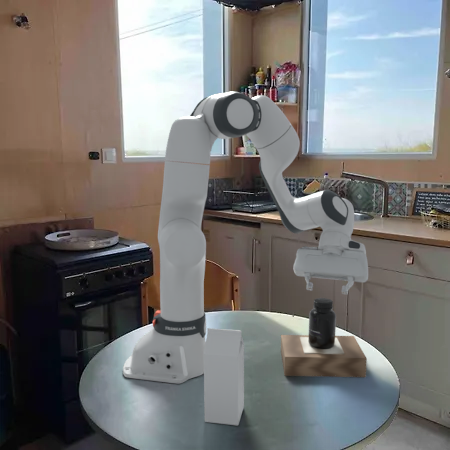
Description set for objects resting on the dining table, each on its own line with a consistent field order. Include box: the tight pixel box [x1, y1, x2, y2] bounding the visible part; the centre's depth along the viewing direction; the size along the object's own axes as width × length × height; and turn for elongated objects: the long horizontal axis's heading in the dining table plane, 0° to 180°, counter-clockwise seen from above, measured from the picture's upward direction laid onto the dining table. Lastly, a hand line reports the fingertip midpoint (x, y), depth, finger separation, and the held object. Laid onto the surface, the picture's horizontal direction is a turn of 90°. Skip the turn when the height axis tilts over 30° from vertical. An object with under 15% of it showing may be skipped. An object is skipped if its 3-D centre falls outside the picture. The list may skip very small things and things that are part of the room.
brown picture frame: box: [280, 334, 368, 378], centre depth 120 cm, size 20×14×5 cm
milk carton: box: [203, 327, 245, 426], centre depth 95 cm, size 7×7×19 cm
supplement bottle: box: [308, 297, 337, 349], centre depth 118 cm, size 7×7×12 cm
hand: (326, 291), depth 122 cm, fingers open, 8 cm apart
